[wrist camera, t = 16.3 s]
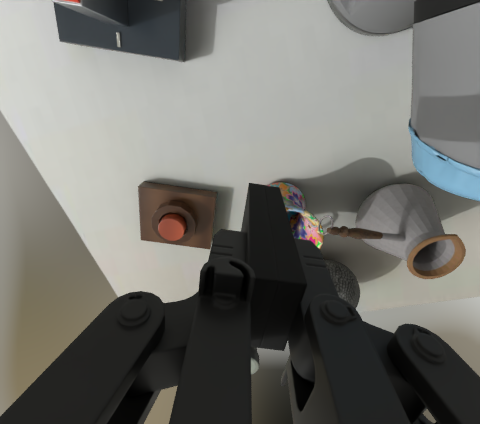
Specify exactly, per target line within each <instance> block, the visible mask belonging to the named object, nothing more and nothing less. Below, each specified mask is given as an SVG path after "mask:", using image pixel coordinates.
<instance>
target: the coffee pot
mask: <svg viewBox="0 0 480 424" xmlns="http://www.w3.org/2000/svg"><path fill="white" fill-rule="evenodd" d="M327 216H328V215H326V216H324V217H323V218H322V219H321V220H320V222H319V225H318V231H319V233H320V234H322V233H321V231H320V224H321V221H322V220H323V219H324V218H325V217H327ZM328 217H330V219H331V220H332V223H331V227H330V228H327V233H325V234H322V235H326V234H328V233H330V234H333V235H338V234H339V235H340V236H341V237H347V236H350V237H353V238H356V239H362V240H363V241H364V242H365V243H366V244H368V245H370V246H372V247H374V248H376V249H379V250H381V251H384V252H386V253H388V254H391V255H393V256H396V257H398V258H401V259H403V260H406V261H407V267H408V269H409V271H410V272H411V273H412V274H413V275H415V276H417V277H419V278H423V279H434V278H439V277H442V276H444V275H447V274H449V273H450V272H452V271H454V270H455V269H456V268H457V267H458V266H459V265H460V264H461V263H462V261H463V259H464V257H465V252H466V249H465V246H464V244H463V242H462V240H461V239H460V238H459V237H458V236H457V235H456V234H445V233H444V230H443V227H442V224H441V221H440V218H439V216H438V213H437V210H436V207H435V204H434V201H433V198H432V197H431V196H430V194H429V193H428V192H427V191H426V190H425V189H423V188H421V187H419V186H417V185H412V184H408V183H407V184H392V185H388V186H385V187H382V188H380V189H378V190H376V191H375V192H373V193H372V194H371V195H369V196H368V197H367V198H366V199H365V200H364V202H363V203H362V204H361V206H360V208H359V210H358V212H357V217H356V228H351V229H348V228H347V227H345V226H342V227H341V228H338V227H333V219H332V217H331V216H328Z"/></svg>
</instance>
